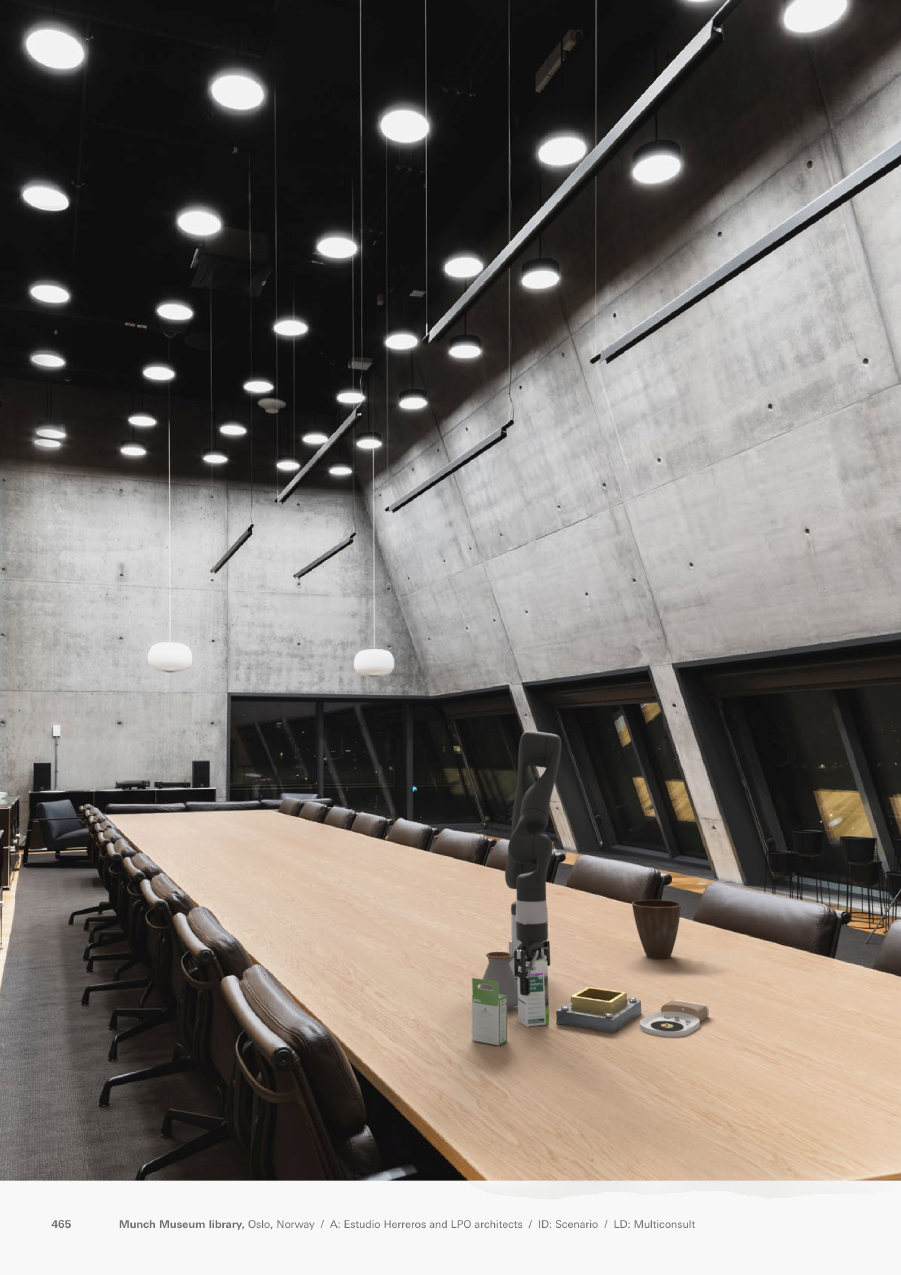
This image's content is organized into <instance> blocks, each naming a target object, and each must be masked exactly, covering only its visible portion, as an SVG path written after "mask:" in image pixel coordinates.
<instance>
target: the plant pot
mask: <svg viewBox="0 0 901 1275" xmlns="http://www.w3.org/2000/svg"><path fill="white" fill-rule="evenodd" d="M631 904H632V911H633V917H634V921H635V925H636V929H637V933H638V937H639V940H640V943H641V945H642V946H641V947H642V948H643V950H644V953H645V956H646V957H647V958H650V959H657V960H658V959H659V960H660V959H661V960H663V959H670V958H671V957H672V953H673V951H674V948H675V943H676V940H677V936H678V935H677V934H678V930H679V924H680V918H681V907H682V904H681V903H680V902H677V901H672V900H664V899H663V900H662V899H641V900H635V901H632V902H631Z"/></svg>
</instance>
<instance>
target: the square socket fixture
mask: <svg viewBox="0 0 901 1275" xmlns="http://www.w3.org/2000/svg"><path fill="white" fill-rule="evenodd" d="M555 1013H556V1014H555V1015H556V1025H561V1026H566V1027H571V1028H572V1027H574V1028H579V1029H584V1030H589V1031H590V1030H591V1031H597V1032H600V1033H602V1032H603V1033H608V1034H613V1035H614V1034H615V1033H616V1032H618V1031H619V1030H620V1029H622V1028H623V1027H624V1026H626V1025H627V1024H629V1023H630V1022H631V1021H633V1020H635V1019H637V1017H639V1016H640V1015H641V1014H642V1001H641V1000H639V999H637V998H636V997H629V998H628V992H626V991H619V990H613V989H612V990H611V989H605V988H599V987H591V986H587V987H585V988H583V989H581V990H580V991H578V992H575V993H574V994H573V995H570V1002H568V1003H567V1004H565V1005H563V1006H560V1008H558V1009H556V1010H555Z"/></svg>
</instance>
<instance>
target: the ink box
mask: <svg viewBox="0 0 901 1275" xmlns="http://www.w3.org/2000/svg"><path fill="white" fill-rule="evenodd" d="M480 984H487V985H490V986H492V987H493V990H487V989H480V988H479V986H480ZM471 985H472V986H471V988H472V995H471V1014H472V1015H471V1020H472V1021H471V1022H472V1023H471V1028H472V1029H471V1036H472V1037H471V1038H472V1039H471V1040H472V1041H474V1042H479V1043H484V1044H489V1045H493V1046H494V1045H495V1046H501V1045H503V1044H506V1043H507V1042H508V1012H507V995H501V994H499V982H498V981H491V980H483V978H475V977H472V978H471Z"/></svg>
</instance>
